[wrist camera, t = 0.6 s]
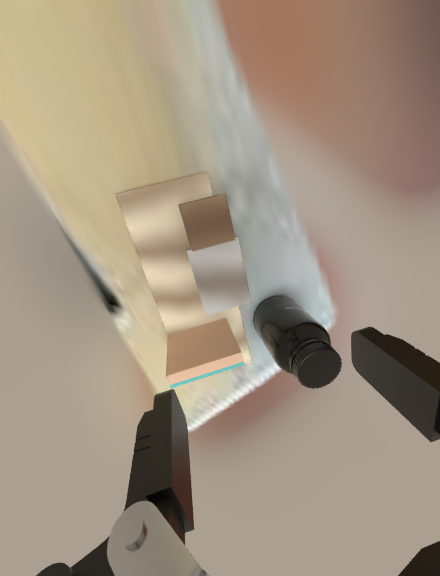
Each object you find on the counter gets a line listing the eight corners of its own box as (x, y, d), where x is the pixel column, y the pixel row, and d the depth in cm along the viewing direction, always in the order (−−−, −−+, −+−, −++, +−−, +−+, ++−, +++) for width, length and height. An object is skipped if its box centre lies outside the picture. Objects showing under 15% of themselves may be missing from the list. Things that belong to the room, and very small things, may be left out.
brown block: (173, 205, 26) (173, 206, 20) (217, 194, 27) (231, 192, 20) (199, 295, 30) (206, 320, 24) (237, 284, 31) (254, 305, 24)
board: (117, 194, 26) (115, 194, 25) (206, 172, 27) (207, 171, 26) (185, 377, 36) (185, 383, 35) (249, 357, 36) (251, 361, 35)
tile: (167, 335, 31) (165, 376, 24) (226, 317, 32) (241, 352, 25) (171, 345, 32) (170, 388, 25) (228, 327, 33) (244, 364, 25)
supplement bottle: (290, 287, 34) (347, 328, 23) (301, 325, 36) (357, 380, 25) (245, 306, 33) (281, 358, 22) (259, 344, 36) (297, 407, 25)
